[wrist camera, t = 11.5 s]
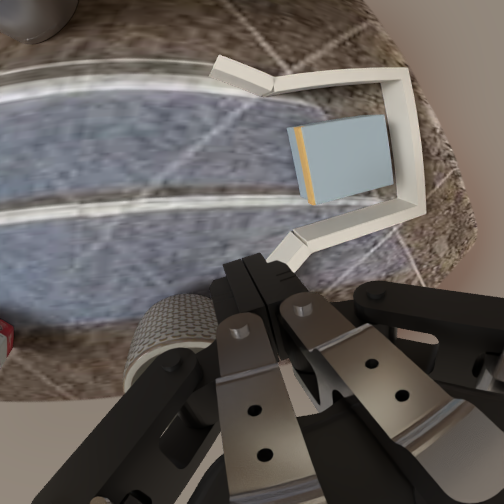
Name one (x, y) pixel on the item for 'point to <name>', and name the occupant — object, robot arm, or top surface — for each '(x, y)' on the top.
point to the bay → (402, 141)
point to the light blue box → (341, 157)
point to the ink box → (5, 340)
